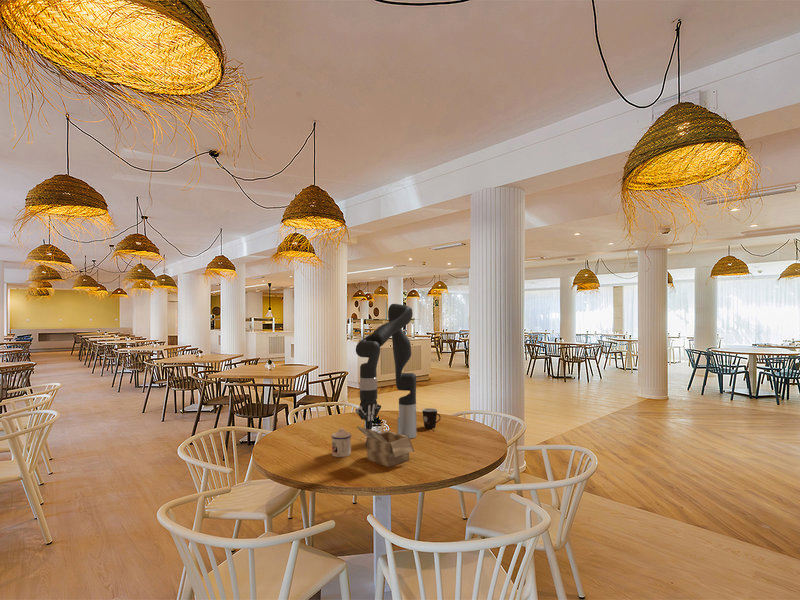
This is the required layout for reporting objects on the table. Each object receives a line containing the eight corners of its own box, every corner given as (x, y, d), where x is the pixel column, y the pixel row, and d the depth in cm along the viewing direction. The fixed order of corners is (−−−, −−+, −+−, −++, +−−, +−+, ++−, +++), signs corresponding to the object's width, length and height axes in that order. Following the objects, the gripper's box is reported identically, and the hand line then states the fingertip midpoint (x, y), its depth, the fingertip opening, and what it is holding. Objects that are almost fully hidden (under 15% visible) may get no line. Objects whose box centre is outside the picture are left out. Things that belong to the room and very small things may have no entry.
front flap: (366, 436, 185) (356, 426, 181) (367, 435, 185) (356, 426, 181) (387, 442, 175) (376, 432, 171) (387, 442, 175) (377, 431, 172)
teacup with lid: (329, 452, 195) (329, 427, 195) (348, 450, 199) (348, 425, 199) (336, 460, 184) (336, 434, 185) (355, 457, 188) (355, 431, 188)
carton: (363, 458, 187) (362, 434, 188) (388, 450, 198) (388, 428, 199) (394, 469, 173) (393, 444, 173) (419, 460, 184) (419, 436, 184)
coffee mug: (420, 426, 242) (420, 408, 242) (434, 425, 245) (433, 407, 245) (427, 431, 231) (427, 413, 231) (441, 430, 233) (441, 411, 234)
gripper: (374, 385, 185) (374, 424, 184) (350, 389, 176) (350, 430, 175) (385, 387, 180) (386, 427, 179) (362, 391, 170) (362, 434, 170)
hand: (368, 429), depth 177 cm, fingers closed
